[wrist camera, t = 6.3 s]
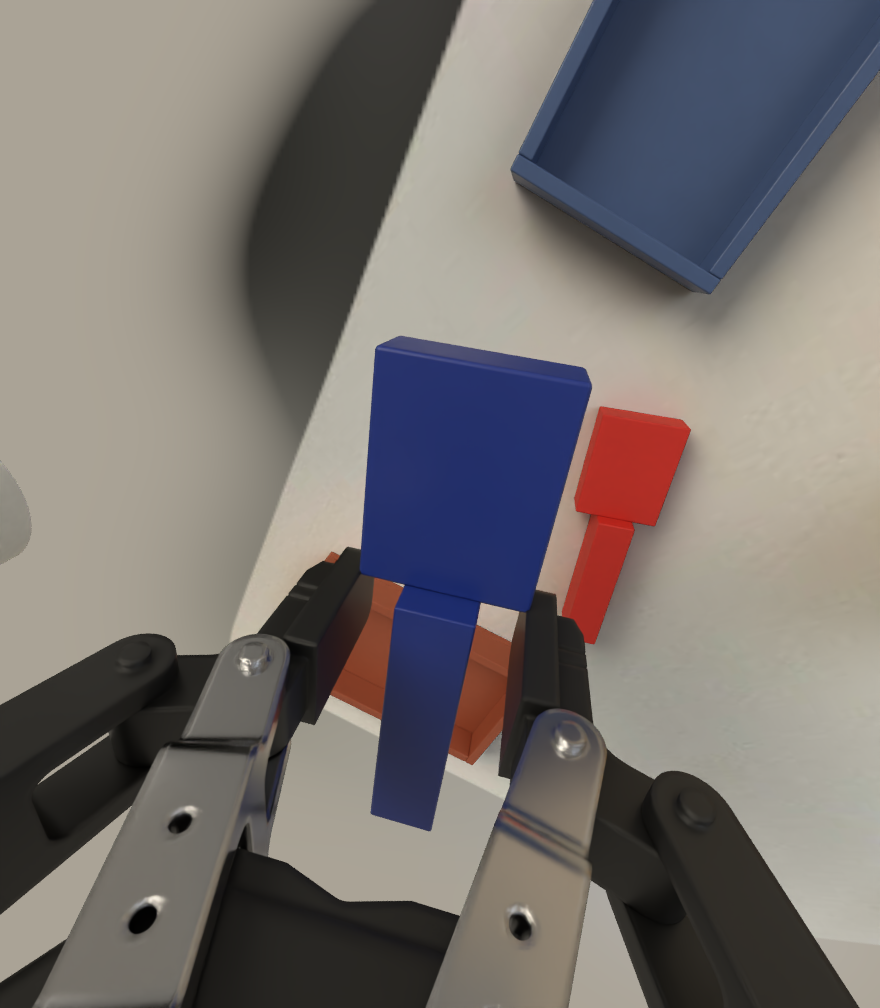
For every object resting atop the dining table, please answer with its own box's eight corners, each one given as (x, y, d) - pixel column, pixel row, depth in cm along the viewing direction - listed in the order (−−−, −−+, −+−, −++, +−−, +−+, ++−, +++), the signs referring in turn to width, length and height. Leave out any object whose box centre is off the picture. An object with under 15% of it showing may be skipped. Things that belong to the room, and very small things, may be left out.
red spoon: (609, 622, 29) (614, 649, 27) (543, 607, 30) (543, 633, 28) (682, 419, 24) (696, 434, 21) (599, 405, 24) (605, 419, 22)
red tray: (292, 643, 35) (275, 668, 33) (331, 551, 31) (315, 572, 29) (476, 735, 36) (472, 765, 34) (540, 656, 32) (540, 685, 29)
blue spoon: (479, 766, 16) (468, 844, 14) (361, 734, 16) (333, 804, 14) (587, 367, 10) (598, 394, 8) (398, 334, 10) (359, 351, 8)
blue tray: (693, 292, 21) (710, 295, 19) (513, 180, 21) (509, 169, 19) (1060, -207, 14) (1156, -295, 12) (800, -395, 14) (849, -523, 11)
